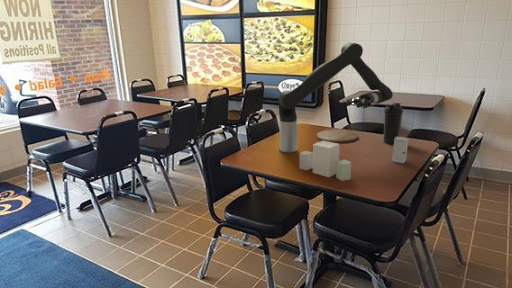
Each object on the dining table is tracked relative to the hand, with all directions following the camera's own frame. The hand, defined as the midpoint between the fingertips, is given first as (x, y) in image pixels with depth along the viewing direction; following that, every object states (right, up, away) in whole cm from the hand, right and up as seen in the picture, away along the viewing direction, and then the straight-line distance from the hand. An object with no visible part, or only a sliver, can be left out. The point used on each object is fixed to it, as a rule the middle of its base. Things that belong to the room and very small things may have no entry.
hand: (351, 104), depth 183 cm
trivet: (+3, -16, +46) cm, 48 cm away
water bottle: (+31, -19, +32) cm, 49 cm away
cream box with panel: (-15, -33, -10) cm, 38 cm away
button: (-13, -27, -10) cm, 31 cm away
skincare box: (+24, -28, +1) cm, 37 cm away
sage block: (-8, -35, -18) cm, 40 cm away
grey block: (-23, -31, -4) cm, 39 cm away
